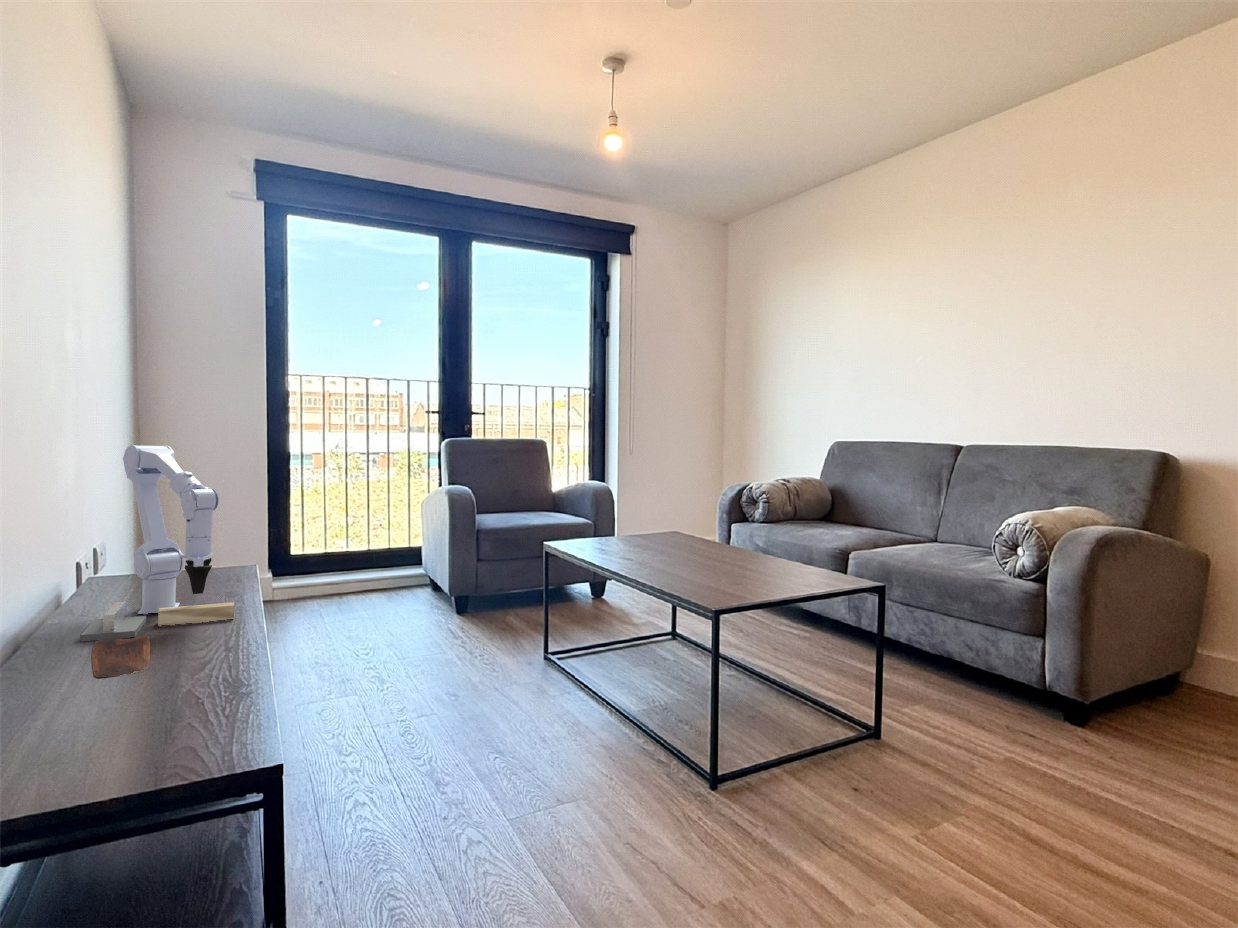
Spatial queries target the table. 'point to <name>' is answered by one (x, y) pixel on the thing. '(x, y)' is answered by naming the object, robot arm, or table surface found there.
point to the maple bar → (195, 614)
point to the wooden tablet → (120, 656)
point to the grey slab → (123, 631)
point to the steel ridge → (114, 617)
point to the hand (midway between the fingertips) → (198, 590)
